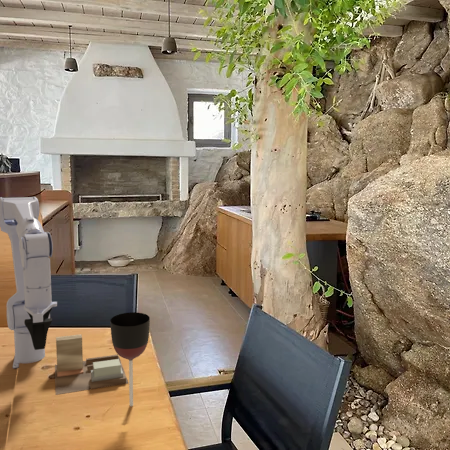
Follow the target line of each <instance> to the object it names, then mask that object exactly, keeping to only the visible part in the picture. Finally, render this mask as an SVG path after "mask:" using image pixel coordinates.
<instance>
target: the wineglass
mask: <svg viewBox="0 0 450 450" xmlns="http://www.w3.org/2000/svg"><path fill="white" fill-rule="evenodd" d="M150 321H151V320H150V316H149V315H148V314H146V313H143V312H134V311H133V312H123V313H120V314H119V313H118V314H115V315H114V316H112V317H111V318H110V321H109V322H110V335H111V343H112V346H113V349H114V351H115V353H116V355H118V356H119V357H121V358H122V359H125V360H128V374H129V375H128V384H129V385H128V387H129V391H128V393H129V394H128V395H129V406H130V407H133V406H134V374H133V372H134V371H133V370H134V369H133V368H134V367H133V365H134V364H133V360H134V359H136V358H138V357H140V356H141V355H142V354H143V353H144V352H145V350H146V348H147V346H148V344H149V338H150V324H151V322H150Z"/></svg>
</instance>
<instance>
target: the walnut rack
mask: <svg viewBox="0 0 450 450" xmlns="http://www.w3.org/2000/svg"><path fill="white" fill-rule="evenodd" d="M114 359H119V361H120V364H121V368H122V371H123V377H121V378H115V379H108V380H101V381H95V382H92V380H91V370H93V362H100V361H107V360H114ZM54 376H55V377H54V379H55V380H54V383H55V386H54V387H55V389H54V390H55V395H57V396H58V395H65V394H69V393H77V392H82V391H89V390H96V389H102V388H108V387H113V386H121V385H126V384H129V379H128V377H127V375H126V373H125V369H124V366H123V363H122V361H121V359H120V356H119V355H118V354H112V355H111V354H110V355H103V356H96V357H90V358H86V359H85V360H83V369H76V370H69V371H62V372H57V364H54Z"/></svg>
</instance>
